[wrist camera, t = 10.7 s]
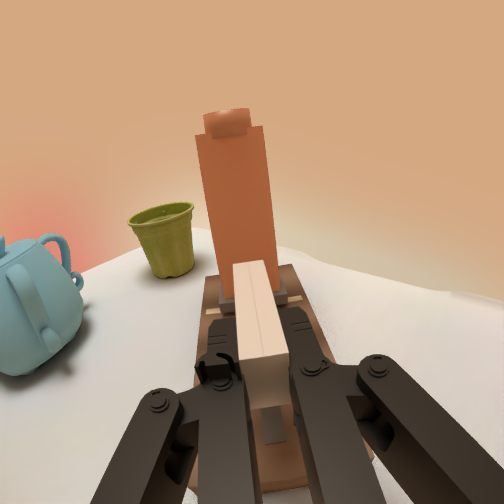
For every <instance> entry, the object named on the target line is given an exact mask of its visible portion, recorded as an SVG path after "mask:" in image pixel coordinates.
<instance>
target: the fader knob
mask: <svg viewBox="0 0 504 504" xmlns="http://www.w3.org/2000/svg"><path fill="white" fill-rule="evenodd" d="M203 119H204V126H205V133H206V134H200V135H195V138H196V145H197V151H198V157H199V164H200V170H201V176H202V182H203V188H204V194H205V199H206V205H207V211H208V216H209V222H210V227H211V233H212V238H213V243H214V249H215V254H216V259H217V264H218V269H219V274H220V279H221V282H220V285H219V307H220V312H221V313H228V312H235V311H236V310H235V294H234V277H233V264H237V263H244V262H251V261H257V260H263V261H264V265H265V268H266V272H267V276H268V279H269V283H270V286H271V290H272V293H273V297H274V301H275V304H276V305H281V304H287V303H288V294H287V291H286V288H285V286H284V283H283V280H282V277H281V274H280V273H279V270H278V260H277V249H276V240H275V230H274V221H273V212H272V202H271V193H270V184H269V176H268V168H267V159H266V150H265V142H264V134H263V127H262V126H255V127H252V126H251V118H250V111H249V109H248V108H240V109H230V110H223V111H217V112H212V113H208V114H205V115H203Z"/></svg>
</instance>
